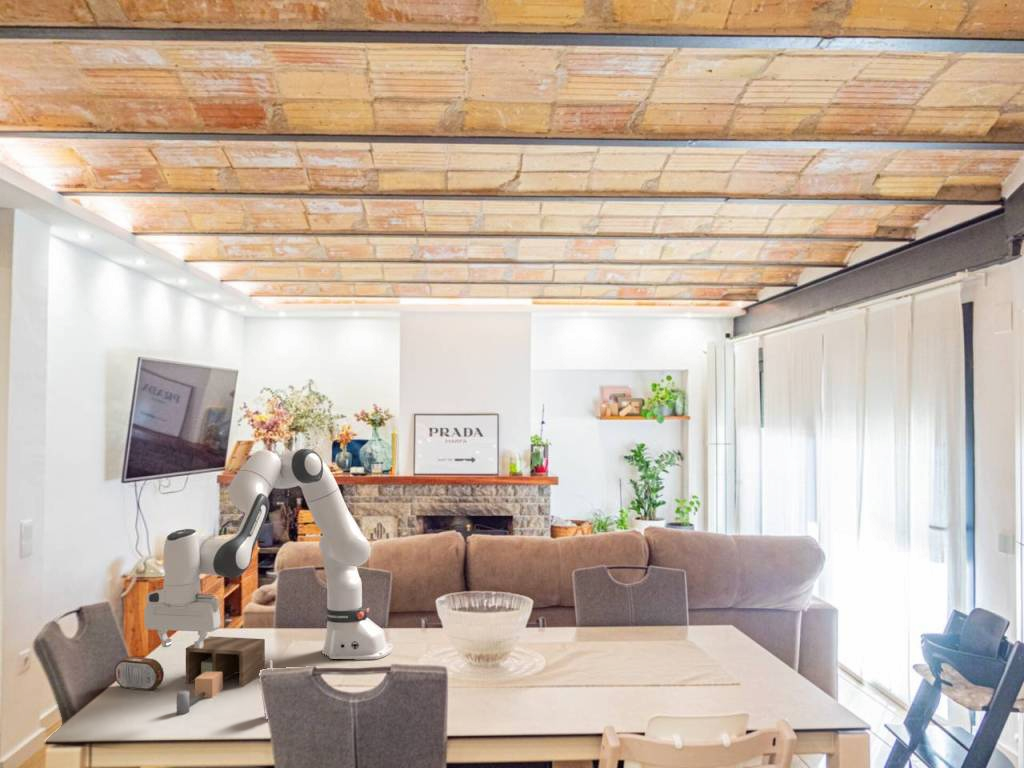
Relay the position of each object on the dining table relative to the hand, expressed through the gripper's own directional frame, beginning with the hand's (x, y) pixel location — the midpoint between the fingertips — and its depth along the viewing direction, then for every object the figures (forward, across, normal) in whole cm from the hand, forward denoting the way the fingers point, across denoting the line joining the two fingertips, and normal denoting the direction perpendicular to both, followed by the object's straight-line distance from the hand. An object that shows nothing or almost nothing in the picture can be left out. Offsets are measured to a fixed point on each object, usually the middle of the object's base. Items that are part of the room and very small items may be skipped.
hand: (182, 647), depth 202 cm
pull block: (+17, +1, -8) cm, 19 cm away
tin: (+17, +25, -15) cm, 34 cm away
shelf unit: (+17, +5, -27) cm, 32 cm away
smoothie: (+17, -24, -2) cm, 30 cm away
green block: (+17, +9, -28) cm, 34 cm away
